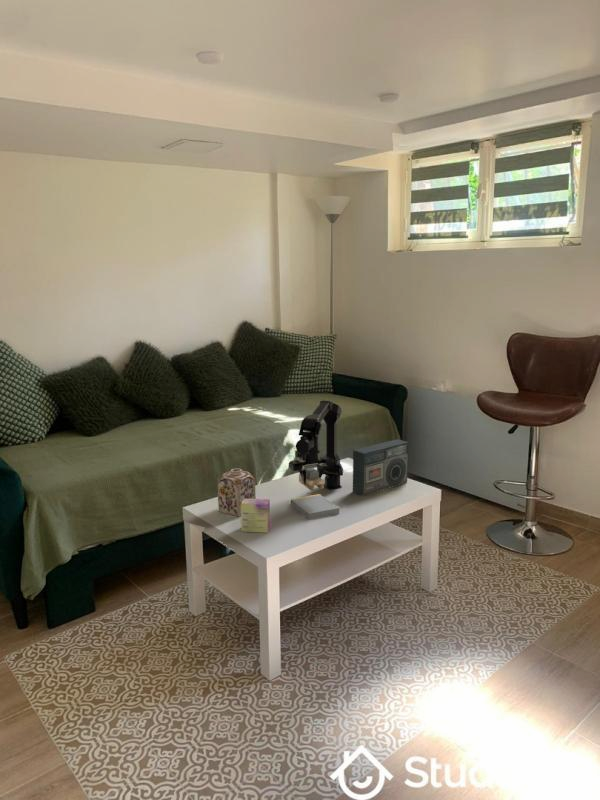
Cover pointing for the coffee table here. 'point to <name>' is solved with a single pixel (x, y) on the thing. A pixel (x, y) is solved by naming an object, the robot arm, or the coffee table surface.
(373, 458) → the cassette player
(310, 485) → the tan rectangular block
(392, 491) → the coffee table surface
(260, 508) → the box
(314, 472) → the gray rectangular block
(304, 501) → the dock
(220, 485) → the decorative jar
